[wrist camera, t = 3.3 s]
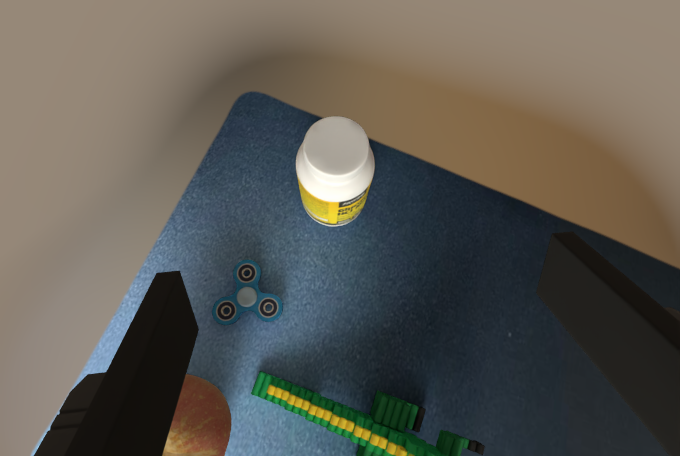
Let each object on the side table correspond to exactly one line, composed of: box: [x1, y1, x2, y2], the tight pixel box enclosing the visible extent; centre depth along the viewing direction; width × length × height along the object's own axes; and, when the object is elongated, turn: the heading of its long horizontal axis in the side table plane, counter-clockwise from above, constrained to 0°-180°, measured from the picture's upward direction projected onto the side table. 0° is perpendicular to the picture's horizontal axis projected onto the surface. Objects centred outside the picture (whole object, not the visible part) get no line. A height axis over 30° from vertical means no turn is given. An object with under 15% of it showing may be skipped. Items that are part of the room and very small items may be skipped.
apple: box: [162, 374, 231, 456], centre depth 29 cm, size 9×9×8 cm
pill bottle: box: [296, 116, 375, 226], centre depth 32 cm, size 6×6×11 cm
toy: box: [212, 260, 283, 325], centre depth 34 cm, size 6×6×1 cm
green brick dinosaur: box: [251, 371, 485, 456], centre depth 29 cm, size 20×6×9 cm, turn 70°
